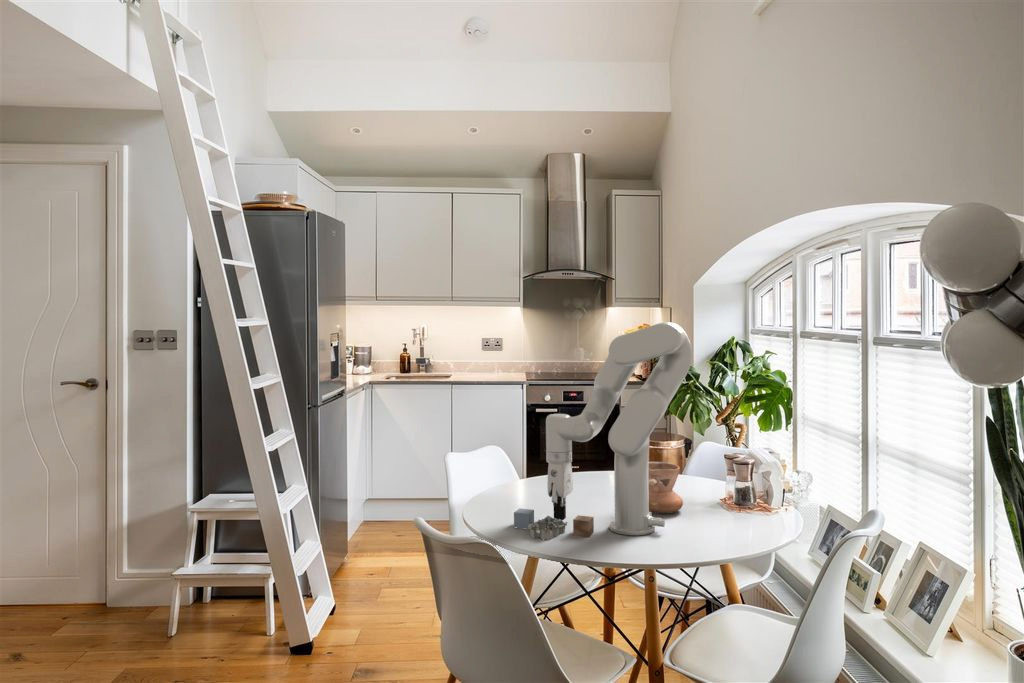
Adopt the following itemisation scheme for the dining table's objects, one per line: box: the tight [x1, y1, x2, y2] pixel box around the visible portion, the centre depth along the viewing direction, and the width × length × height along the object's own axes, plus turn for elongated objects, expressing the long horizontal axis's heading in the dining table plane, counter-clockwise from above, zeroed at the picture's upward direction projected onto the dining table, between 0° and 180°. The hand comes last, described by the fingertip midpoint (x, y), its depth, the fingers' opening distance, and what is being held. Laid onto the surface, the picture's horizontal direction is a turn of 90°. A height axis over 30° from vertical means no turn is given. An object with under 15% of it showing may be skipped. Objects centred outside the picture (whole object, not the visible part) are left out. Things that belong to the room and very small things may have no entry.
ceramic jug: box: [649, 461, 684, 515], centre depth 199 cm, size 18×14×14 cm
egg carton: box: [528, 515, 568, 541], centre depth 177 cm, size 11×8×4 cm
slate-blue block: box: [513, 507, 535, 530], centre depth 184 cm, size 4×4×4 cm
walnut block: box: [572, 514, 595, 538], centre depth 176 cm, size 4×4×4 cm
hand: (559, 518), depth 187 cm, fingers closed
